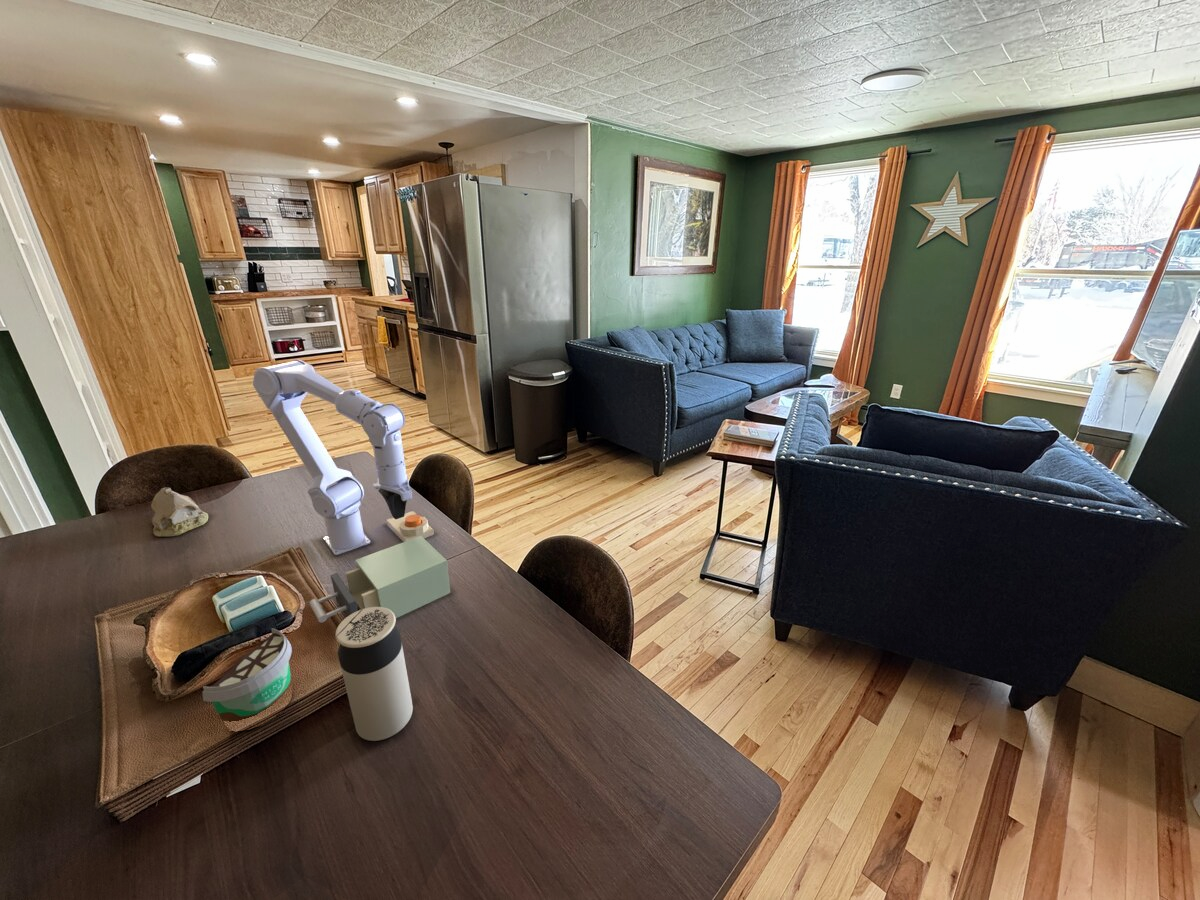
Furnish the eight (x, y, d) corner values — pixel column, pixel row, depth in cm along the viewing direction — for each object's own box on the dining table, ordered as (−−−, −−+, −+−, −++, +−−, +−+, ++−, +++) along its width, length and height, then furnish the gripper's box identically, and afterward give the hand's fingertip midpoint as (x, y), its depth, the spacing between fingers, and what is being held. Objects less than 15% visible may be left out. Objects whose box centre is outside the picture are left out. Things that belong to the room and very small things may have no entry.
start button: (403, 523, 117) (402, 517, 116) (417, 518, 119) (416, 512, 119) (409, 529, 114) (408, 523, 114) (423, 524, 117) (423, 518, 116)
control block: (387, 525, 122) (385, 513, 120) (413, 516, 126) (412, 504, 125) (406, 545, 114) (404, 533, 112) (434, 535, 118) (432, 523, 117)
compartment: (326, 644, 83) (319, 616, 81) (309, 612, 91) (302, 585, 88) (421, 600, 94) (417, 574, 92) (399, 575, 102) (395, 550, 99)
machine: (383, 624, 90) (377, 589, 86) (361, 592, 98) (355, 559, 95) (450, 592, 98) (446, 560, 95) (425, 566, 106) (421, 535, 103)
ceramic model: (217, 522, 121) (205, 487, 117) (161, 542, 112) (147, 505, 108) (194, 506, 128) (182, 473, 124) (140, 524, 119) (126, 489, 115)
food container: (256, 750, 66) (237, 698, 63) (219, 741, 68) (198, 689, 64) (320, 679, 78) (308, 632, 74) (288, 672, 79) (274, 625, 75)
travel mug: (424, 703, 74) (409, 613, 67) (387, 750, 67) (367, 653, 60) (383, 688, 76) (364, 599, 69) (343, 732, 69) (319, 637, 62)
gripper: (358, 455, 103) (368, 510, 108) (383, 478, 93) (393, 536, 98) (391, 448, 108) (399, 500, 113) (418, 468, 98) (426, 525, 103)
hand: (398, 516), depth 106 cm, fingers closed
